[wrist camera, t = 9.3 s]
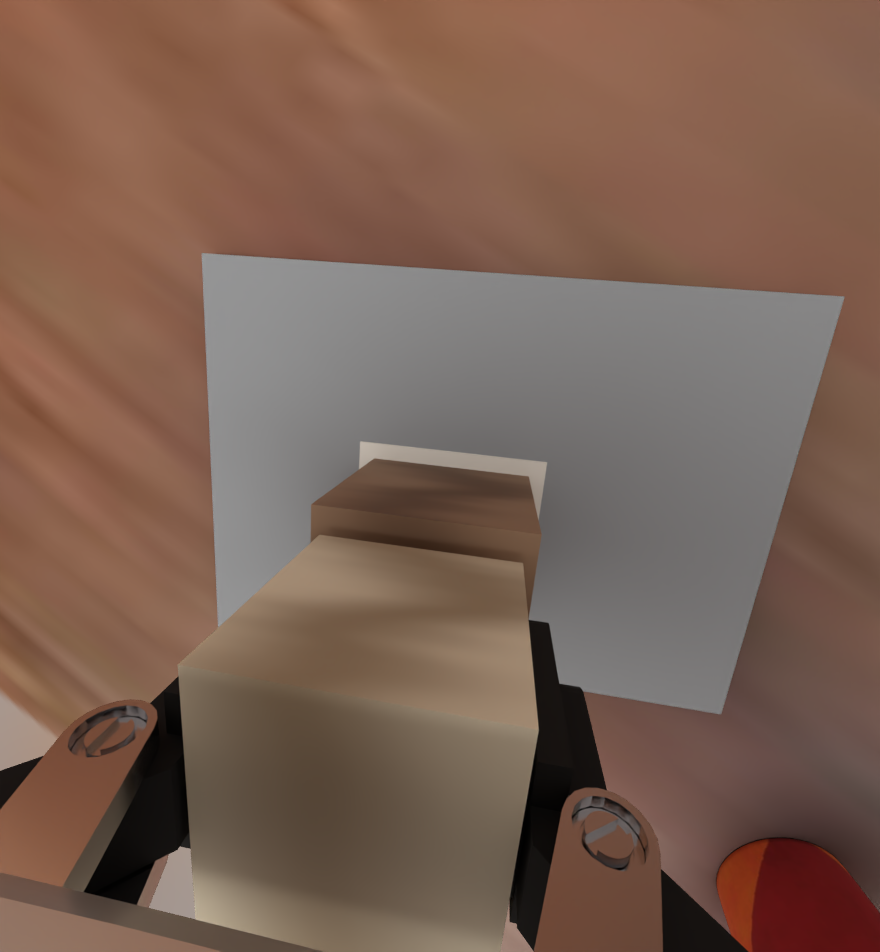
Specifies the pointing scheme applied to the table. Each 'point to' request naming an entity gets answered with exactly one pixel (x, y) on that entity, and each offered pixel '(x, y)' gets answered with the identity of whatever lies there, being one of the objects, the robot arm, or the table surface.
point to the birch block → (363, 751)
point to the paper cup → (795, 900)
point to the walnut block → (435, 512)
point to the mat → (528, 437)
